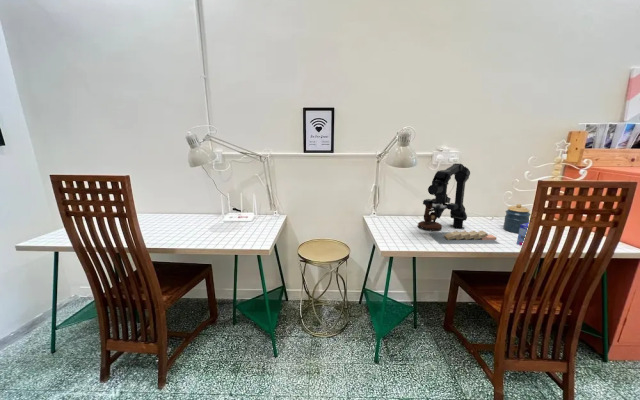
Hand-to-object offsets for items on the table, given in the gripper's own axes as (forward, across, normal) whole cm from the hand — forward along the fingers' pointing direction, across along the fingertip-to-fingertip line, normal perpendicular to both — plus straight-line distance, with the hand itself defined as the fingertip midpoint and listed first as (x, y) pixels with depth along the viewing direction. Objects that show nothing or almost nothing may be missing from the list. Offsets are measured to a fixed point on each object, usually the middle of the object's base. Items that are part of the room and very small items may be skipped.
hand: (438, 218), depth 159 cm
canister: (+12, -26, -50) cm, 58 cm away
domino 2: (+11, -8, -5) cm, 15 cm away
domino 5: (+11, -18, -16) cm, 27 cm away
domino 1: (+11, -5, -1) cm, 12 cm away
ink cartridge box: (+12, -38, -27) cm, 48 cm away
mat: (+12, -10, -10) cm, 19 cm away
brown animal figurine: (+12, +12, -13) cm, 21 cm away
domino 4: (+11, -15, -13) cm, 22 cm away
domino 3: (+11, -12, -9) cm, 18 cm away
